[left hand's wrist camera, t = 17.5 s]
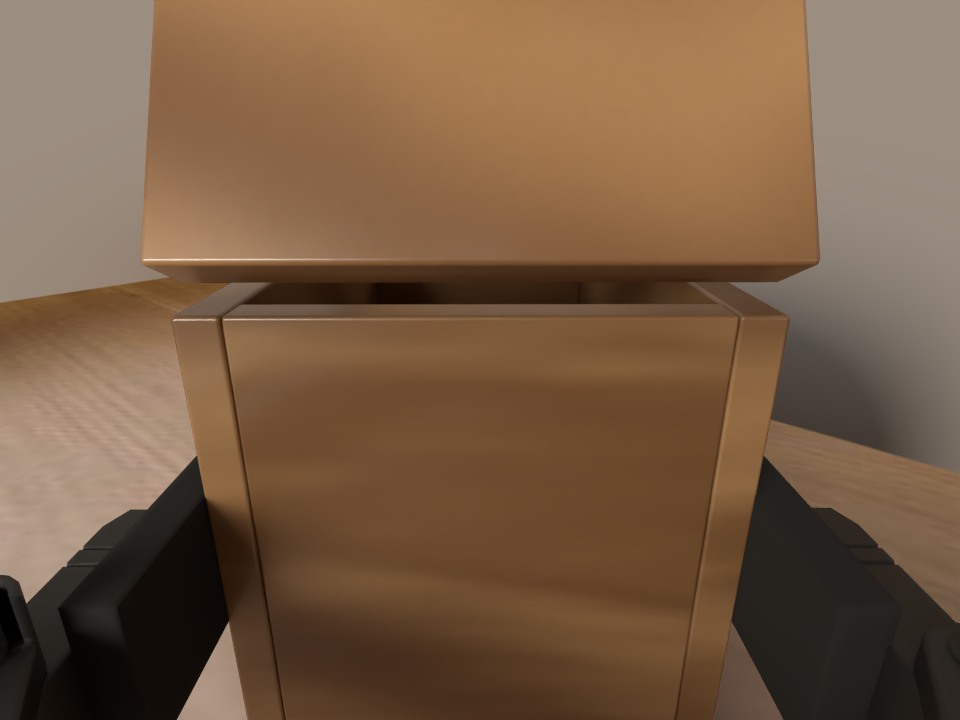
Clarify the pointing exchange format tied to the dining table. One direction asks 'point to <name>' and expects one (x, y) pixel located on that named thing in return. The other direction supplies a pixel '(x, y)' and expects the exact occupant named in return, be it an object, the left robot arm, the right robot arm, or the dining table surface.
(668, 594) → the chest
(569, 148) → the lid
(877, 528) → the dining table surface
